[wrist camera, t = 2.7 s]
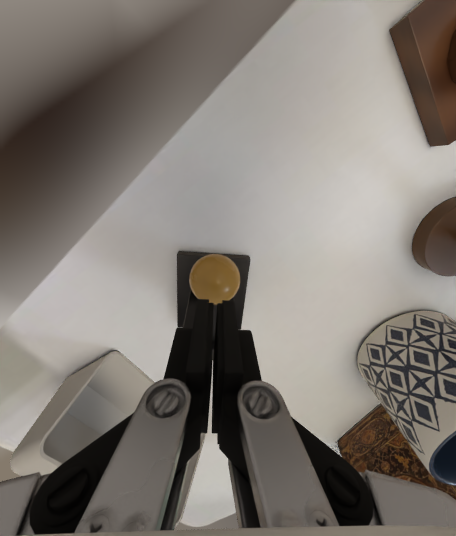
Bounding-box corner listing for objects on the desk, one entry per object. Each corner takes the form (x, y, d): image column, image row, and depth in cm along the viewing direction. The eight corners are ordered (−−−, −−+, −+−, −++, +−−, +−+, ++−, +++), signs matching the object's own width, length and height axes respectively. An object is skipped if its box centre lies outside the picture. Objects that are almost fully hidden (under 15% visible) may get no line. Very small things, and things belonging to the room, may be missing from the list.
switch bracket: (178, 251, 28) (154, 302, 18) (249, 255, 29) (267, 307, 18) (178, 321, 33) (159, 397, 22) (239, 324, 33) (250, 399, 23)
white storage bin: (41, 389, 37) (-37, 487, 26) (113, 346, 34) (62, 436, 23) (143, 457, 46) (119, 551, 35) (207, 428, 43) (203, 521, 32)
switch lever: (191, 241, 14) (185, 282, 12) (242, 245, 14) (245, 286, 12) (194, 332, 24) (191, 364, 22) (224, 333, 24) (224, 365, 22)
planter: (335, 366, 38) (398, 471, 25) (404, 292, 32) (532, 378, 19) (402, 392, 41) (488, 497, 28) (475, 330, 36) (623, 424, 23)
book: (392, 392, 41) (608, 670, 19) (413, 401, 43) (639, 670, 20) (335, 441, 47) (447, 701, 24) (355, 448, 48) (479, 700, 25)
